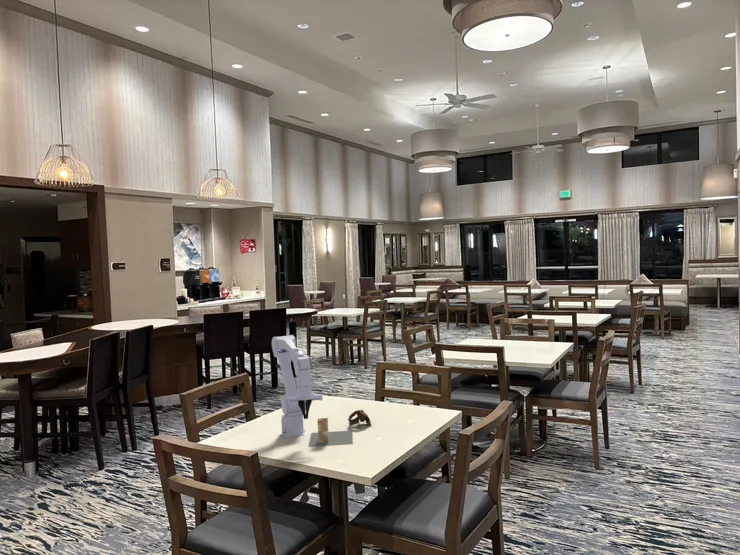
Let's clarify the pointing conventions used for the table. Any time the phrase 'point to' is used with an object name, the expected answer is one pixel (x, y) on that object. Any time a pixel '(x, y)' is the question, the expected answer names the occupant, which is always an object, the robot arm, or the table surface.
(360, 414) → the brown curved piece
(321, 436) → the maple block
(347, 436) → the charcoal mat
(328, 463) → the table surface
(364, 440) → the table surface
